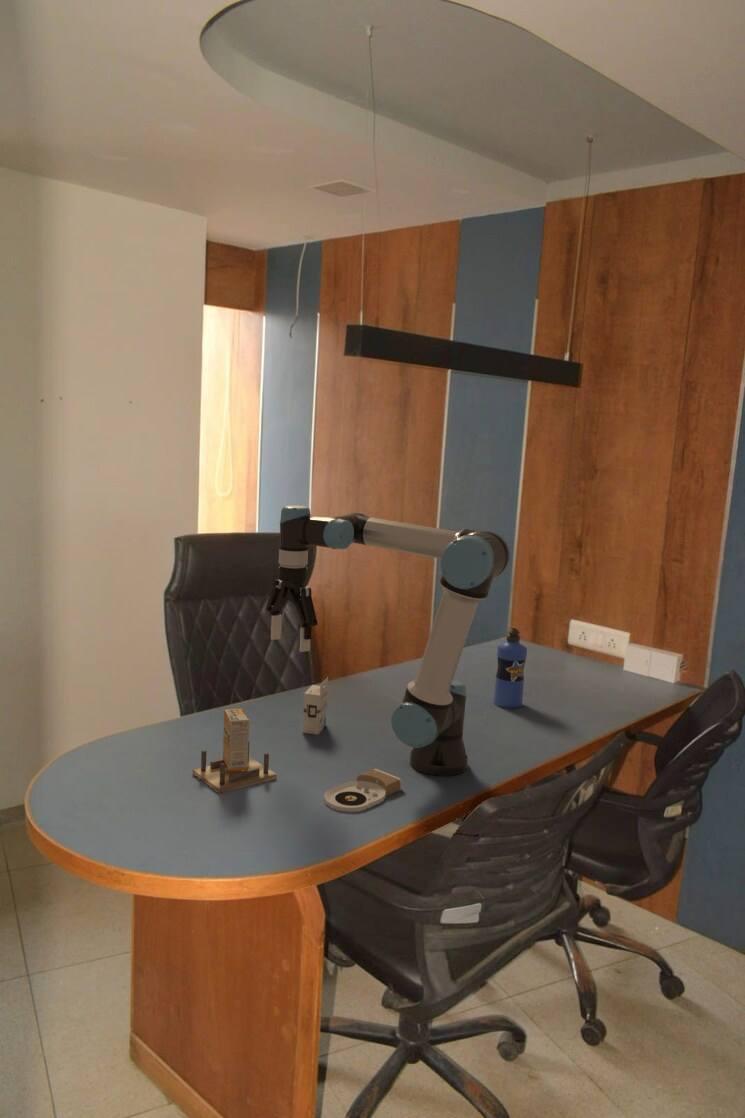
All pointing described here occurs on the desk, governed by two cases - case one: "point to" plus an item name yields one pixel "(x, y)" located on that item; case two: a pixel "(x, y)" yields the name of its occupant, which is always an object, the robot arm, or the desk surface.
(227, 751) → the supplement box
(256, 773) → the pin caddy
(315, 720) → the ink box
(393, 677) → the desk surface
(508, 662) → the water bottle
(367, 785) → the record player
